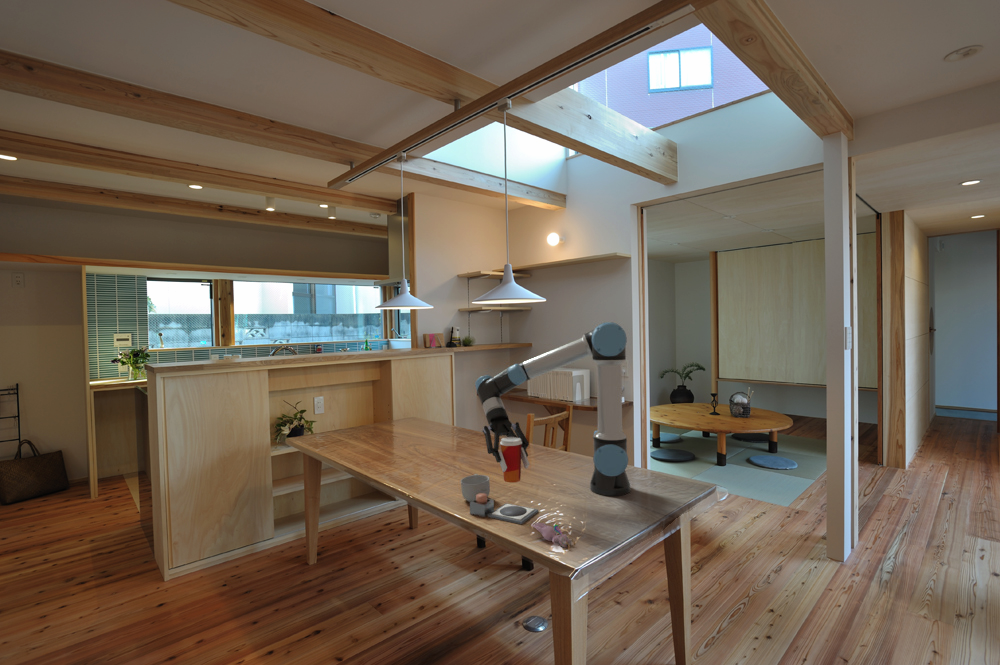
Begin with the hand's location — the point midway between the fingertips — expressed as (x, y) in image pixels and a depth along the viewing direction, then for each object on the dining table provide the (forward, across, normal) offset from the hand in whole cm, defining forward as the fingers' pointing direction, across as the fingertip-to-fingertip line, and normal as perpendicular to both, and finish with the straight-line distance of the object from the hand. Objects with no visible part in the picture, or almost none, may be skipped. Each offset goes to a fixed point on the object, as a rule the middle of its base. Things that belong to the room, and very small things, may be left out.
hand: (516, 468), depth 158 cm
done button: (+3, +9, -17) cm, 19 cm away
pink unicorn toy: (+26, -2, +2) cm, 27 cm away
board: (+9, 0, -14) cm, 17 cm away
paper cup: (+1, 0, -6) cm, 6 cm away
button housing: (+5, +9, -19) cm, 21 cm away
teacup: (-5, +5, -29) cm, 30 cm away
